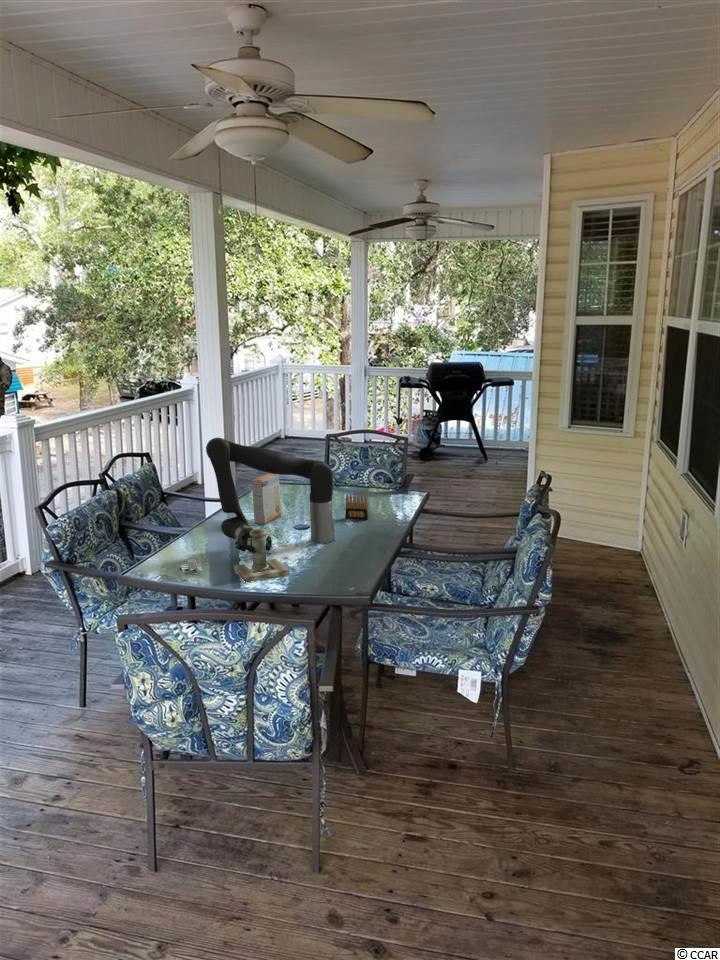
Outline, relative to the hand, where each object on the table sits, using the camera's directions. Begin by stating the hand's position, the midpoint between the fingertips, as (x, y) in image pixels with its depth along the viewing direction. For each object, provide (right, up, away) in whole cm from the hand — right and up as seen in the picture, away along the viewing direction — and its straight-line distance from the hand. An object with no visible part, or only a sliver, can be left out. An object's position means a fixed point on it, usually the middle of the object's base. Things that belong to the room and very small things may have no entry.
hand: (261, 549), depth 253 cm
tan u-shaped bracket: (-1, -9, +3) cm, 10 cm away
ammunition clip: (+34, +7, +71) cm, 79 cm away
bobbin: (-1, -7, +4) cm, 8 cm away
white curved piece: (-27, -8, +11) cm, 30 cm away
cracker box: (-7, +6, +71) cm, 72 cm away
